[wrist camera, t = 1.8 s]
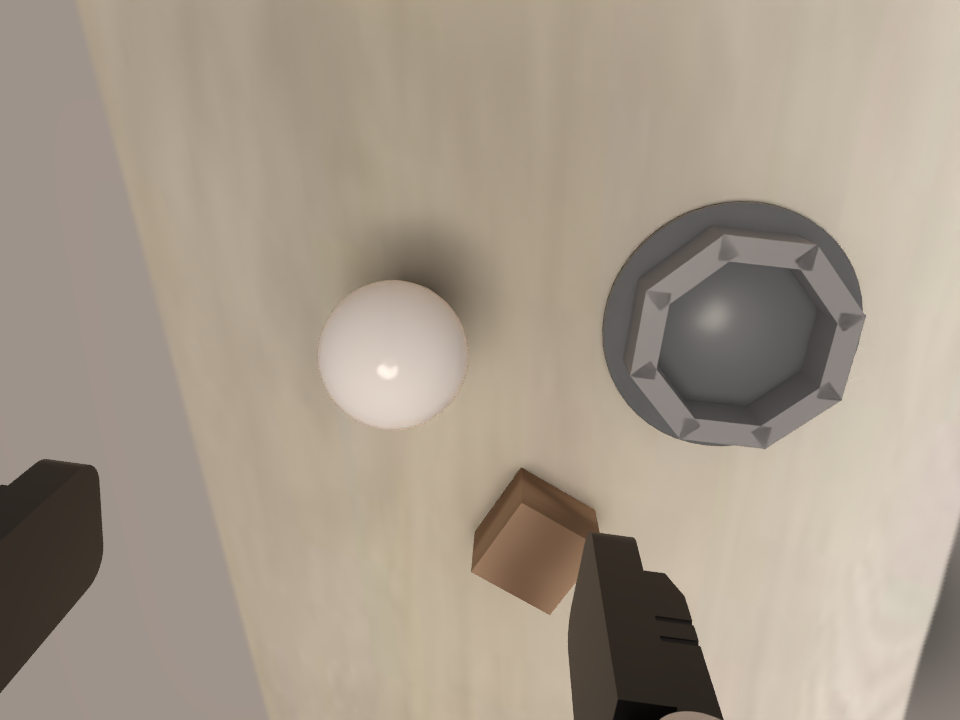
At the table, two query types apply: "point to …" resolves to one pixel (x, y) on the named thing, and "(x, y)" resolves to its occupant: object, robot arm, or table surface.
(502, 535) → the walnut block
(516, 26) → the table surface
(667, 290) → the socket collar
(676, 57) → the table surface
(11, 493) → the robot arm
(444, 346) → the lightbulb
